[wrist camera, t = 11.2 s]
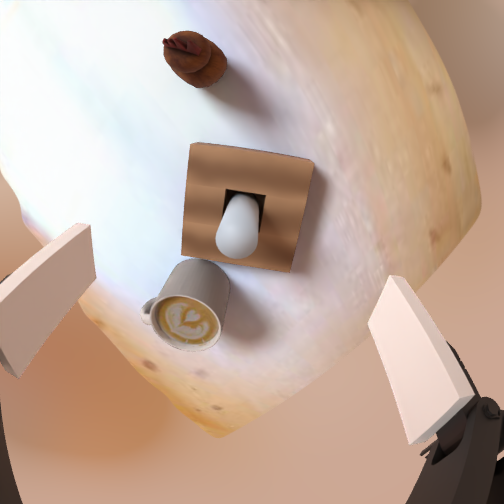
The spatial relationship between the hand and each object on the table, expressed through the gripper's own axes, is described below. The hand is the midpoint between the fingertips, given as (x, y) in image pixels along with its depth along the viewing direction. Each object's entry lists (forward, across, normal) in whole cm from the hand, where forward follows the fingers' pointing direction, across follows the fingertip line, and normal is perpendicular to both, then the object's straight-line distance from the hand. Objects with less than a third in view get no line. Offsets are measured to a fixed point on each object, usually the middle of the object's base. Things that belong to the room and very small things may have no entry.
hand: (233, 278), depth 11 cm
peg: (+26, -1, -5) cm, 27 cm away
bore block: (+28, -1, -5) cm, 28 cm away
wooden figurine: (+28, -9, +13) cm, 32 cm away
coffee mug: (+28, -8, -20) cm, 35 cm away
